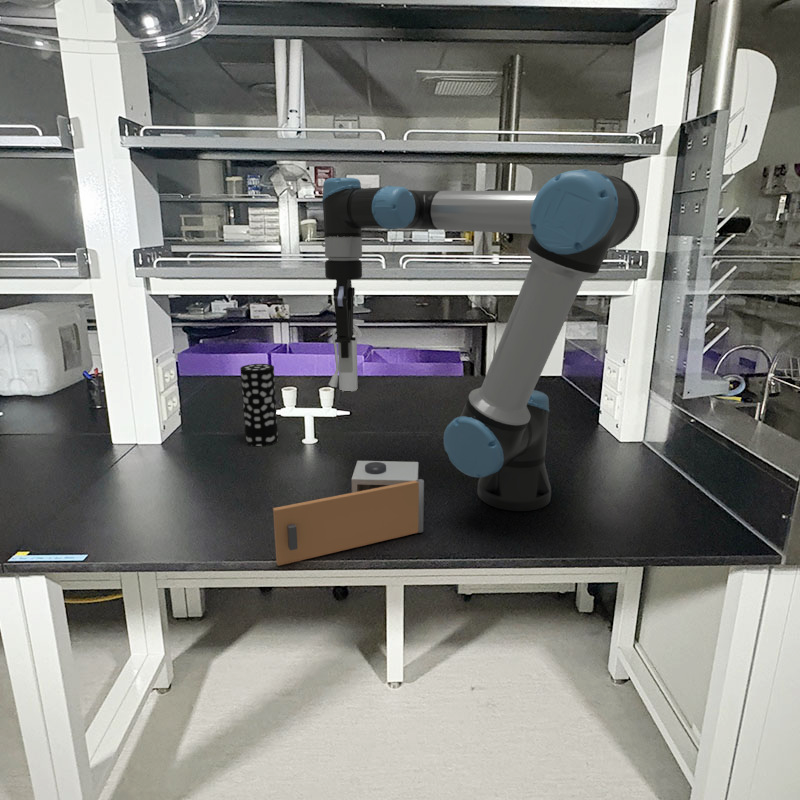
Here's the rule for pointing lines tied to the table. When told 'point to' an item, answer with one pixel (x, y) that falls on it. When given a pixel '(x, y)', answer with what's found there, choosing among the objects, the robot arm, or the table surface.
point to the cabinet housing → (382, 474)
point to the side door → (347, 521)
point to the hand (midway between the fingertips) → (346, 371)
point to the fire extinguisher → (350, 379)
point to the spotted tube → (259, 404)
